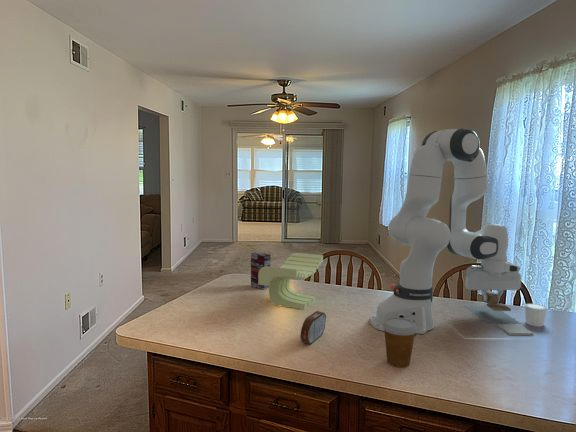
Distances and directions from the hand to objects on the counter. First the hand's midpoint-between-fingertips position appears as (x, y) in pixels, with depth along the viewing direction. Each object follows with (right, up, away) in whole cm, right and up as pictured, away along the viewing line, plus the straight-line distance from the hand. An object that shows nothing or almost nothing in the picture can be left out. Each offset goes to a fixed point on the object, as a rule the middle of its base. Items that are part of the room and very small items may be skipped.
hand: (491, 300), depth 167 cm
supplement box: (-91, -1, +35) cm, 97 cm away
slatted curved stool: (-77, -3, +13) cm, 78 cm away
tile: (0, -7, -17) cm, 18 cm away
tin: (-70, -8, -25) cm, 75 cm away
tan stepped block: (0, -1, -1) cm, 2 cm away
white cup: (+11, -7, -10) cm, 16 cm away
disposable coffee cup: (-46, -10, -42) cm, 63 cm away
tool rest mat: (0, -6, 0) cm, 6 cm away
